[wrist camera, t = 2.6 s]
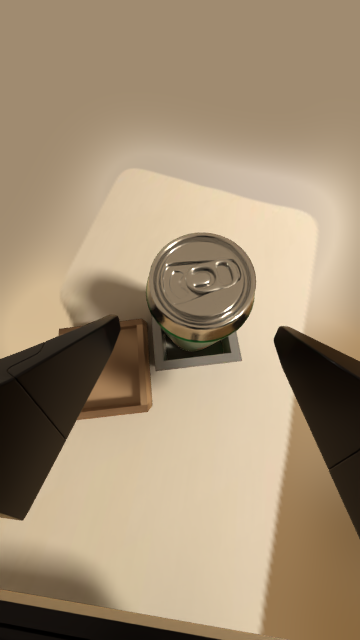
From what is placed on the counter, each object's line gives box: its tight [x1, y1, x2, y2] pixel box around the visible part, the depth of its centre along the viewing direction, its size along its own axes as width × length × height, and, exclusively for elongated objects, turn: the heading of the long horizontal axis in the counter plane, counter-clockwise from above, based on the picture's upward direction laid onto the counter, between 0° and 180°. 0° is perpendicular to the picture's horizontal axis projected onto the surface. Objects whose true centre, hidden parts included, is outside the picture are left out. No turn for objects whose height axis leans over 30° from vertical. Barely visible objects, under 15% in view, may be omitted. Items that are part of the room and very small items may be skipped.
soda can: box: [146, 233, 256, 352], centre depth 12 cm, size 5×5×12 cm
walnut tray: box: [59, 319, 152, 420], centre depth 16 cm, size 9×9×2 cm
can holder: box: [151, 314, 242, 371], centre depth 16 cm, size 8×8×3 cm
